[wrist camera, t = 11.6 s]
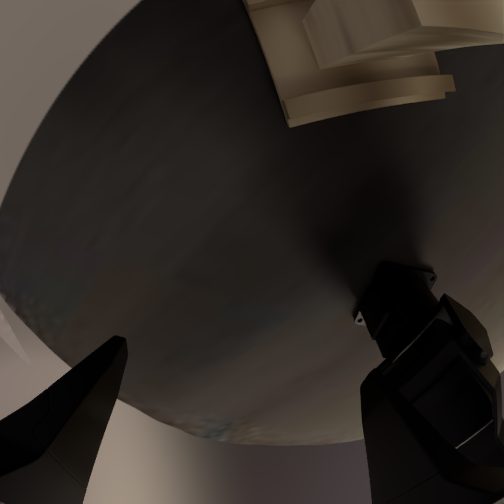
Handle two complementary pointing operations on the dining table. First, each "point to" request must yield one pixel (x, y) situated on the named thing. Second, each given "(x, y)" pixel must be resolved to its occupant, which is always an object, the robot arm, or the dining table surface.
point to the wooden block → (398, 28)
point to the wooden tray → (335, 70)
